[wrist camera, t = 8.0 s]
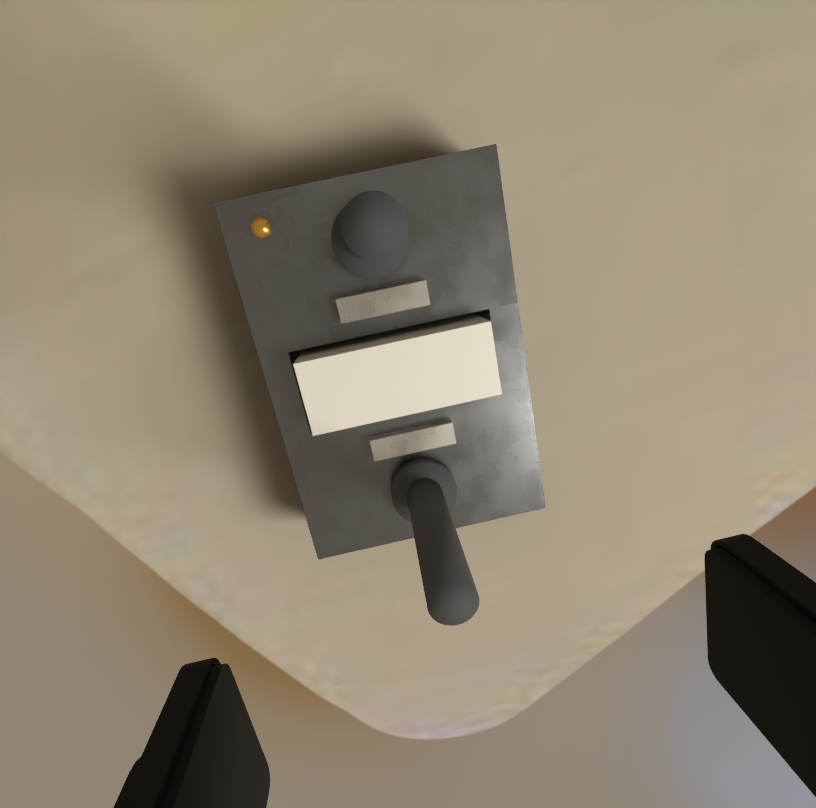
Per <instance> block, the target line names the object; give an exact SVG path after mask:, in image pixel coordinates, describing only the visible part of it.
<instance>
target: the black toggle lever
mask: <svg viewBox="0 0 816 808" xmlns="http://www.w3.org/2000/svg"><path fill="white" fill-rule="evenodd" d="M391 496H392V502H393V505H394V508H395V509H396V511H397V512H398V514H399V515H400V516H401V517H403V518H404V519H406V520H407V521H410V522H412V527H413V532H414V538H415V543H416V549H417V554H418V559H419V565H420V570H421V575H422V581H423V586H424V591H425V597H426V602H427V608H428V611H429V614H430V615H431V617H432V618H433V619H434V620H435V621H437V622H438V623H441V624H444V625H458V624H461V623H464V622H466V621H468V620H469V619H470V618H471V617H472V616H473V615H474V614H475V613H476V611H477V609H478V606H479V596H478V593H477V590H476V587H475V584H474V581H473V578H472V575H471V573H470V570H469V567H468V564H467V561H466V558H465V555H464V552H463V549H462V546H461V544H460V541H459V538H458V535H457V532H456V529H455V526H454V523H453V520H452V517H451V515H450V511H451V510H452V508H453V507H454V505H455V502H456V499H457V486H456V483H455V480H454V478H453V476H452V473H451V472H450V470H449V469H448V468H447V466H445V465H444V464H443V463H442V462H440V461H438V460H435V459H432V458H416V459H413V460H410V461H408V462H406V463H405V464H403V465H402V466H401V467H400V468H399V469H398V470H397V471H396V473H395V474H394V476H393V479H392V482H391Z"/></svg>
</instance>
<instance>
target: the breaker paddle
mask: <svg viewBox="0 0 816 808" xmlns="http://www.w3.org/2000/svg"><path fill="white" fill-rule="evenodd" d="M293 366H294V369H295V373H296V376H297V380H298V384H299V387H300V391H301V395H302V398H303V402H304V405H305V409H306V413H307V416H308V420H309V424H310V427H311V431H312V434H313V436H315V435H320V434H324V433H329V432H334V431H338V430H343V429H347V428H352V427H356V426H361V425H365V424H370V423H374V422H379V421H383V420H388V419H392V418H397V417H402V416H406V415H411V414H415V413H420V412H424V411H429V410H433V409H438V408H442V407H447V406H451V405H456V404H461V403H465V402H470V401H474V400H479V399H483V398H488V397H492V396H497V395H501V394H502V390H501V384H500V377H499V370H498V364H497V357H496V351H495V344H494V338H493V331H492V325H491V321H489V320H487V319H485V318H483V317H481V316H479V315H477V314H475V313H468V314H463V315H459V316H454V317H450V318H445V319H440V320H436V321H431V322H426V323H422V324H417V325H412V326H408V327H403V328H399V329H394V330H389V331H385V332H380V333H375V334H371V335H366V336H361V337H357V338H352V339H348V340H343V341H338V342H334V343H329V344H324V345H320V346H315V347H310V348H306V349H303V350H302V352H301V353H300V355H299V356H298V358H297V359H296V361H295V362H294V364H293Z"/></svg>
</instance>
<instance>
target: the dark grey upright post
mask: <svg viewBox="0 0 816 808" xmlns="http://www.w3.org/2000/svg"><path fill="white" fill-rule="evenodd" d="M331 242H332V247H333V251H334V253H335V256H336V257H337V259H338V261H339V262H340V263H341V265H342V266H343V267H344V268H345V269H346V270H348V271H349V272H351V273H352V274H354V275H356V276H359V277H363V278H379V277H382V276H385V275H387V274H389V273H391V272H392V271H393V270H395V269H396V268H397V267H398V266H399V265H400V263H401V262H402V260H403V258H404V257H405V254H406V252H407V248H408V230H407V219H406V215H405V212H404V210H403V208H402V206H401V205H400V204H399V202H398V201H397V200H396V199H395V198H394V197H392V196H391V195H389V194H387V193H385V192H382V191H377V190H370V191H365V192H362V193H360V194H358V195H356V196H355V197H353V198H352V199H351V200H350V201H349V202H348V204H347V205H346V206H345V207H343V208H342V210H341V211H340V212H339V213H338V215H337V216H336V218H335V220H334V223H333V226H332V232H331Z"/></svg>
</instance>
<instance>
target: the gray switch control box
mask: <svg viewBox="0 0 816 808" xmlns="http://www.w3.org/2000/svg"><path fill="white" fill-rule="evenodd" d="M370 190H377V191H382V192H385V193H387V194H389V195H391V196H392V197H394V198H395V199H396V200H397V201H398V202H399V204H400V205H401V206H402V208H403V210H404V212H405V215H406V219H407V230H408V248H407V252H406V254H405V257H404V258H403V260H402V262H401V263H400V265H399V266H398V267H397V268H396V269H395V270H393V271H392V272H391V273H389V274H387V275H385V276H382V277H379V278H363V277H359V276H356V275H354V274H352V273H351V272H349V271H348V270H346V269H345V268H344V267H343V266H342V265H341V263H340V262H339V261H338V259H337V257H336V256H335V253H334V251H333V247H332V242H331V232H332V226H333V223H334V220H335V218H336V216H337V215H338V213H339V212H340V211H341V210H342V208H343V207H345V206H346V205H347V204H348V202H349V201H350V200H351V199H352V198H353V197H355V196H356V195H358V194H360V193H362V192H365V191H370ZM213 204H214V208H215V211H216V215H217V218H218V221H219V225H220V228H221V232H222V235H223V238H224V242H225V245H226V249H227V252H228V255H229V259H230V262H231V265H232V269H233V272H234V276H235V279H236V282H237V286H238V289H239V293H240V296H241V299H242V303H243V306H244V309H245V313H246V316H247V320H248V323H249V326H250V330H251V333H252V337H253V340H254V343H255V347H256V350H257V354H258V357H259V360H260V364H261V367H262V370H263V374H264V377H265V381H266V384H267V387H268V391H269V394H270V398H271V401H272V404H273V408H274V411H275V415H276V418H277V421H278V425H279V428H280V431H281V435H282V438H283V442H284V445H285V448H286V452H287V455H288V459H289V462H290V465H291V469H292V472H293V475H294V479H295V482H296V486H297V489H298V492H299V496H300V499H301V503H302V506H303V509H304V513H305V516H306V520H307V523H308V526H309V530H310V533H311V536H312V540H313V543H314V547H315V550H316V553H317V557H318V559H322V558H326V557H331V556H335V555H340V554H344V553H348V552H353V551H357V550H362V549H366V548H370V547H375V546H379V545H384V544H388V543H392V542H397V541H401V540H406V539H410V538H414V532H413V527H412V522H410V521H407V520H406V519H404V518H403V517H401V516H400V515H399V514H398V512H397V511H396V509H395V508H394V505H393V502H392V496H391V482H392V479H393V476H394V474H395V473H396V471H397V470H398V469H399V468H400V467H401V466H402V465H403V464H405V463H406V462H408V461H410V460H413V459H416V458H432V459H435V460H438V461H440V462H442V463H443V464H444V465H445V466H447V468H448V469H449V470H450V472H451V473H452V476H453V478H454V480H455V483H456V486H457V499H456V502H455V505H454V507H453V508H452V510H451V511H450V515H451V517H452V520H453V523H454V526H455V528H458V527H463V526H467V525H472V524H476V523H480V522H485V521H489V520H494V519H498V518H502V517H507V516H511V515H516V514H520V513H524V512H529V511H533V510H538V509H542V508H545V500H544V493H543V486H542V478H541V471H540V463H539V456H538V449H537V441H536V434H535V426H534V419H533V412H532V404H531V397H530V390H529V382H528V375H527V367H526V360H525V353H524V345H523V338H522V331H521V323H520V316H519V308H518V301H517V294H516V286H515V279H514V272H513V264H512V257H511V249H510V242H509V235H508V227H507V220H506V213H505V205H504V198H503V190H502V183H501V176H500V168H499V161H498V154H497V146H496V144H494V145H489V146H484V147H479V148H475V149H470V150H465V151H460V152H455V153H450V154H446V155H441V156H436V157H431V158H426V159H421V160H417V161H412V162H407V163H402V164H397V165H392V166H388V167H383V168H378V169H373V170H368V171H363V172H359V173H354V174H349V175H344V176H339V177H334V178H330V179H325V180H320V181H315V182H310V183H305V184H301V185H296V186H291V187H286V188H281V189H276V190H272V191H267V192H262V193H257V194H252V195H247V196H243V197H238V198H233V199H228V200H223V201H218V202H214V203H213ZM468 313H475V314H477V315H479V316H481V317H483V318H485V319H487V320H489V321H491V325H492V331H493V338H494V344H495V351H496V357H497V364H498V370H499V377H500V384H501V390H502V394H501V395H497V396H492V397H488V398H483V399H479V400H474V401H470V402H465V403H461V404H456V405H451V406H447V407H442V408H438V409H433V410H429V411H424V412H420V413H415V414H411V415H406V416H402V417H397V418H392V419H388V420H383V421H379V422H374V423H370V424H365V425H361V426H356V427H352V428H347V429H343V430H338V431H334V432H329V433H324V434H320V435H315V436H313V434H312V431H311V427H310V424H309V420H308V416H307V413H306V409H305V405H304V402H303V398H302V395H301V391H300V387H299V384H298V380H297V376H296V373H295V369H294V366H293V364H294V362H295V361H296V359H297V358H298V356H299V355H300V353H301V352H302V350H303V349H306V348H310V347H315V346H320V345H324V344H329V343H334V342H338V341H343V340H348V339H352V338H357V337H361V336H366V335H371V334H375V333H380V332H385V331H389V330H394V329H399V328H403V327H408V326H412V325H417V324H422V323H426V322H431V321H436V320H440V319H445V318H450V317H454V316H459V315H463V314H468Z"/></svg>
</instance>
